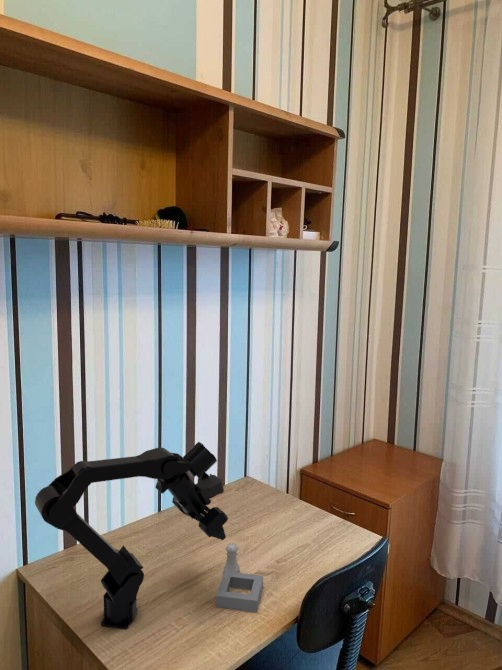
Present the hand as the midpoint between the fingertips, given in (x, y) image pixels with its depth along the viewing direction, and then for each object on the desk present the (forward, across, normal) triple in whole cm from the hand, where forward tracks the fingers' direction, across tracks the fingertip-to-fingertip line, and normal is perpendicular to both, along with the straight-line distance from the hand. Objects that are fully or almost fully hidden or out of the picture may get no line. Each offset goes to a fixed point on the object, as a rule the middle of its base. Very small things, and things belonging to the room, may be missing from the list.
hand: (214, 530), depth 132 cm
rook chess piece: (+15, +1, +3) cm, 16 cm away
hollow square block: (+13, -8, +6) cm, 17 cm away
